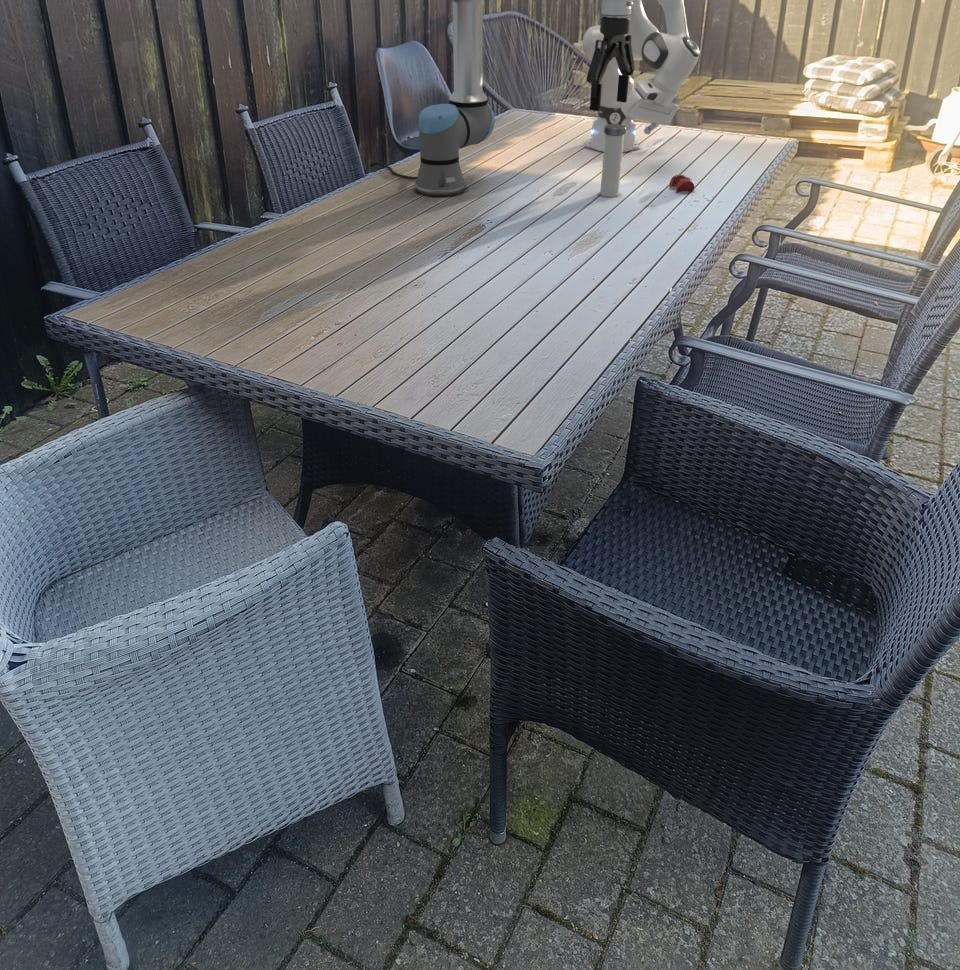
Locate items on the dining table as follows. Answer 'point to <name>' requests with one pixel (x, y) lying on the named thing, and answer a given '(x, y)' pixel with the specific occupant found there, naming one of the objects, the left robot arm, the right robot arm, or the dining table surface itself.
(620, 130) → the lid
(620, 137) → the bottle
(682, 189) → the dental model
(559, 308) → the dining table surface
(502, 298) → the dining table surface
